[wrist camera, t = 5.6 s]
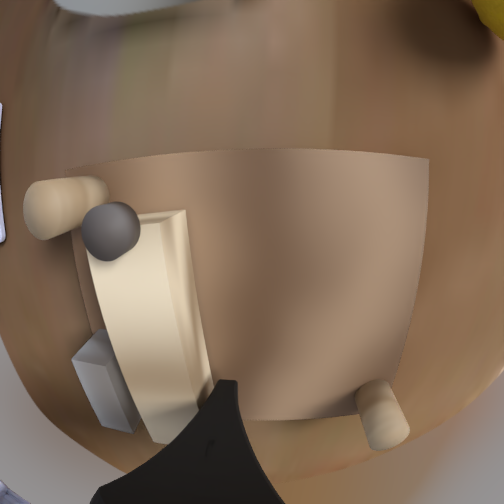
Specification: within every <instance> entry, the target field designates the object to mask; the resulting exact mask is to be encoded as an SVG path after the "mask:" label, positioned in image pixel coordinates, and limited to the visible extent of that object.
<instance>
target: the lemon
mask: <svg viewBox="0 0 504 504" xmlns="http://www.w3.org/2000/svg"><path fill="white" fill-rule="evenodd" d="M471 1H472V4H473V6H474V8H475V9H476V11H477V13H478V15H479V19H480V21H481V22H482V23H483V24H484V25H486V26H488V27H489V29H490V30H491V31H492V32H494V33H495V34H496V35H497V36H498V37H499V38H501V39H502V40H504V0H471Z"/></svg>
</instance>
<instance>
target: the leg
mask: <svg viewBox="0 0 504 504" xmlns="http://www.w3.org/2000/svg"><path fill="white" fill-rule="evenodd" d="M81 234H82V239H83V242H84V245H85V247H86V251H87V256H88V260H89V265H90V270H91V274H92V278H93V282H94V286H95V290H96V294H97V298H98V301H99V305H100V309H101V312H102V315H103V319H104V322H105V325H106V328H107V332H108V335H109V338H110V341H111V344H112V347H113V349H114V352H115V355H116V358H117V361H118V363H119V366H120V368H121V371H122V374H123V376H124V379H125V381H126V384H127V386H128V388H129V391H130V393H131V395H132V398H133V400H134V402H135V405H136V407H137V409H138V411H139V413H140V415H141V418H142V420H143V422H144V424H145V426H146V428H147V430H148V432H149V434H150V436H151V438H152V440H153V442H156V443H163V444H169V443H170V442H171V441H172V440H173V439H175V438H176V437H177V436H178V434H179V433H180V432H181V431H182V430H183V429H184V428H185V427H186V426H187V425H188V423H189V422H190V421H191V420H192V419H193V418H194V416H195V415H196V414H197V412H198V411H199V410H200V408H201V407H202V406H203V404H204V403H205V401H206V400H207V398H208V397H209V395H210V394H211V392H212V390H213V389H214V385H213V381H212V376H211V371H210V366H209V361H208V356H207V350H206V345H205V340H204V334H203V329H202V323H201V317H200V311H199V305H198V299H197V293H196V286H195V279H194V273H193V266H192V258H191V251H190V243H189V236H188V227H187V219H186V210H176V211H166V212H157V213H148V214H140V215H137V214H136V212H135V211H134V210H133V209H132V208H131V207H130V206H129V205H127V204H126V203H123V202H118V201H116V202H111V203H107V204H103V205H99V206H96V207H93V208H92V209H90V210H89V211H88V212H87V213H86V215H85V217H84V219H83V222H82V227H81Z"/></svg>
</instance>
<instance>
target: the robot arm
mask: <svg viewBox="0 0 504 504" xmlns="http://www.w3.org/2000/svg"><path fill="white" fill-rule="evenodd" d="M1 114H2V104H1V103H0V127H1ZM4 240H5V227H4V219H3V211H2V201H1V187H0V243H1V242H3V241H4ZM0 504H31V503H29V502H27V501H26V500H25V499H23V498H22V497H20V496H19V495H17V494H16V493H14V492H13V491H12V490H10V489H9V488H8V487H7V486H6V485H5V484H4V483H3V482H2V481H1V480H0ZM90 504H285V503H284V502H283V500H282V499H281V497H280V496H279V495H278V493H277V492H276V491H275V489H274V488H273V486H272V484H271V483H270V481H269V480H268V478H267V476H266V475H265V473H264V471H263V470H262V468H261V466H260V464H259V462H258V460H257V458H256V456H255V454H254V452H253V449H252V447H251V445H250V442H249V440H248V437H247V434H246V431H245V428H244V425H243V422H242V418H241V414H240V410H239V405H238V382H237V381H236V380H225V379H219V380H218V381H217V383H216V385H215V387H214V389H213V390H212V392H211V394H210V395H209V397H208V398H207V400H206V401H205V403H204V404H203V406H202V407H201V408H200V410H199V411H198V412H197V414H196V415H195V416H194V418H193V419H192V420H191V421H190V422H189V423H188V425H187V426H186V427H185V428H184V429H183V430H182V431H181V432H180V433H179V434H178V436H177V437H176V438H175V439H173V440H172V441H171V442H170V443H169V444H168V445H167V446H166V447H165V448H164V449H162V450H161V451H160V452H159V453H157V454H156V455H155V456H154V457H152V458H151V459H150V460H148V461H147V462H145V463H144V464H142V465H141V466H139V467H138V468H136V469H134V470H133V471H131V472H129V473H128V474H126V475H124V476H122V477H120V478H118V479H116V480H114V481H112V482H110V483H108V484H105V485H103V486H101V487H99V488H98V490H97V491H96V493H95V494H94V496H93V498H92V499H91V501H90Z"/></svg>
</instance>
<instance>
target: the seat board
mask: <svg viewBox="0 0 504 504" xmlns="http://www.w3.org/2000/svg"><path fill="white" fill-rule="evenodd" d="M428 187H429V159H424V158H417V157H409V156H401V155H392V154H383V153H372V152H360V151H345V150H326V149H288V148H269V149H231V150H212V151H197V152H185V153H174V154H164V155H155V156H146V157H138V158H131V159H124V160H117V161H111V162H105V163H99V164H93V165H88V166H82V167H77V168H72V169H67V170H65V178H60V179H52V180H44V181H37V182H35V183H33V184H32V185H31V186H30V187H29V189H28V190H27V192H26V195H25V198H24V204H23V213H24V219H25V222H26V225H27V227H28V229H29V231H30V232H31V233H32V234H33V235H34V236H35V237H36V238H38V239H40V240H47V239H50V238H53V237H55V236H58V235H60V234H63V233H65V232H68V231H70V232H71V239H72V245H73V251H74V257H75V263H76V268H77V273H78V278H79V283H80V287H81V292H82V296H83V300H84V304H85V308H86V312H87V316H88V320H89V323H90V327H91V330H92V333H93V336H92V337H91V338H90V339H89V340H88V341H87V342H86V343H85V345H84V346H83V347H82V348H81V349H80V350H79V351H78V352H77V353H76V354H75V355H74V357H73V358H72V359H71V360H72V362H73V365H74V367H75V370H76V372H77V375H78V377H79V379H80V382H81V384H82V386H83V388H84V391H85V393H86V395H87V397H88V399H89V401H90V403H91V405H92V407H93V409H94V411H95V413H96V415H97V417H98V419H99V421H100V423H101V425H102V426H104V427H108V428H112V429H115V430H119V431H123V432H128V433H132V434H134V432H135V430H136V428H137V425H138V423H139V421H140V419H141V415H140V413H139V411H138V409H137V407H136V405H135V402H134V400H133V398H132V395H131V393H130V391H129V388H128V386H127V384H126V381H125V379H124V376H123V374H122V371H121V368H120V366H119V363H118V361H117V358H116V355H115V352H114V349H113V347H112V344H111V341H110V338H109V335H108V332H107V328H106V325H105V322H104V319H103V315H102V312H101V309H100V305H99V301H98V298H97V294H96V290H95V286H94V282H93V278H92V274H91V270H90V265H89V260H88V256H87V251H86V247H85V245H84V242H83V239H82V234H81V227H82V222H83V219H84V217H85V215H86V213H87V212H88V211H89V210H90V209H92V208H93V207H96V206H99V205H103V204H107V203H111V202H116V201H118V202H123V203H126V204H127V205H129V206H130V207H131V208H132V209H133V210H134V211H135V212H136V214H137V215H140V214H148V213H157V212H166V211H176V210H186V219H187V227H188V236H189V243H190V251H191V258H192V266H193V273H194V279H195V286H196V293H197V299H198V305H199V311H200V317H201V323H202V329H203V334H204V340H205V345H206V350H207V356H208V361H209V366H210V371H211V376H212V381H213V385H214V387H215V385H216V383H217V381H218V380H219V379H225V380H236V381H237V382H238V405H239V410H240V414H241V418H242V420H299V419H316V418H328V417H338V416H347V415H355V414H360V417H361V421H362V424H363V427H364V430H365V433H366V436H367V440H368V443H369V446H370V448H371V449H372V450H376V451H380V450H386V449H389V448H392V447H394V446H396V445H398V444H399V443H401V442H402V441H403V440H404V439H405V438H406V437H407V436H408V434H409V432H410V428H409V425H408V423H407V421H406V419H405V417H404V415H403V413H402V410H401V408H400V406H399V404H398V402H397V400H396V398H395V396H394V394H393V392H392V390H391V387H392V384H393V381H394V378H395V375H396V372H397V369H398V366H399V363H400V359H401V356H402V352H403V349H404V345H405V341H406V338H407V334H408V330H409V326H410V322H411V317H412V313H413V308H414V303H415V299H416V293H417V288H418V283H419V277H420V271H421V264H422V257H423V249H424V241H425V232H426V221H427V208H428Z"/></svg>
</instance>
